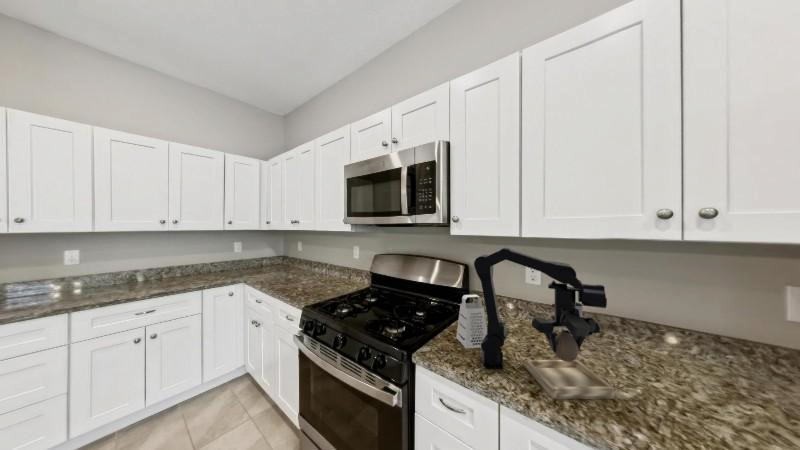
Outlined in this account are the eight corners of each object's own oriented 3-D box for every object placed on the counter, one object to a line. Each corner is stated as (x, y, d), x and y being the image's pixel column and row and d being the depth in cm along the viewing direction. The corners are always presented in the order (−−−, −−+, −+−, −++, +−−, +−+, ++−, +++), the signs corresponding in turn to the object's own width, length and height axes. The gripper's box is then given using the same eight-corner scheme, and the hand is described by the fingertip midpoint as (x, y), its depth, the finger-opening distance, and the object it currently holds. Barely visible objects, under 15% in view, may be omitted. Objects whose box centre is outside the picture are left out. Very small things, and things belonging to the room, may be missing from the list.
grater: (489, 346, 107) (489, 298, 107) (465, 348, 105) (465, 299, 105) (478, 335, 117) (477, 292, 117) (456, 337, 116) (455, 293, 116)
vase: (578, 367, 78) (579, 338, 77) (552, 359, 81) (553, 332, 81) (577, 357, 83) (578, 330, 83) (552, 351, 87) (553, 325, 87)
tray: (552, 399, 74) (552, 388, 74) (525, 368, 90) (525, 360, 90) (614, 398, 74) (614, 388, 74) (576, 368, 90) (576, 359, 90)
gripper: (550, 311, 74) (550, 365, 74) (615, 311, 74) (615, 365, 74) (530, 300, 85) (531, 347, 85) (587, 300, 85) (587, 347, 85)
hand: (565, 351), depth 82 cm, fingers closed on vase, 7 cm apart
